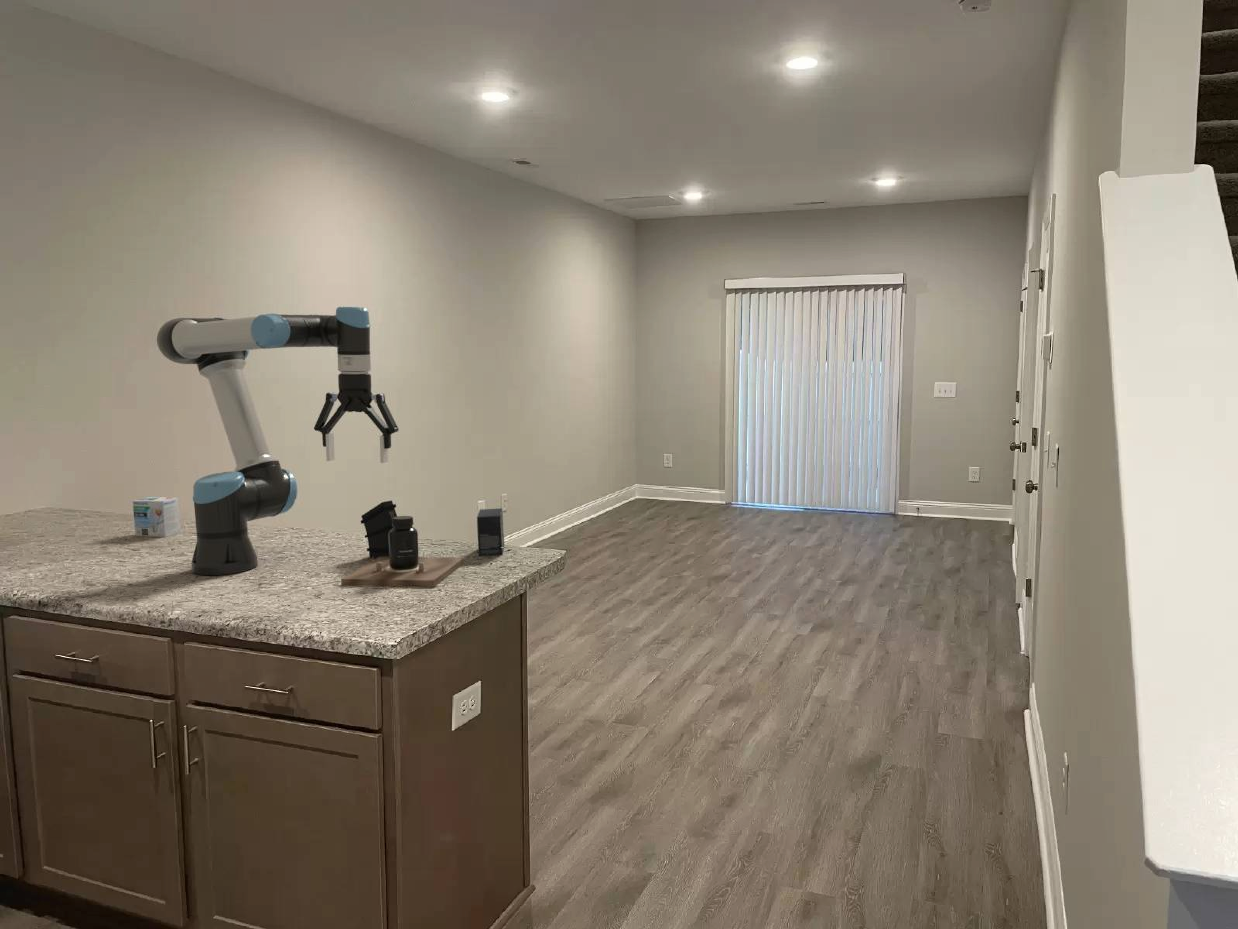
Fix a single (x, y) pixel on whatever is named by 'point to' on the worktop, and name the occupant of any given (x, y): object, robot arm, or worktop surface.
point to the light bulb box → (156, 516)
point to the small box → (490, 532)
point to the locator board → (403, 573)
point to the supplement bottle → (403, 544)
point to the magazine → (379, 528)
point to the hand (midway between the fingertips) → (357, 461)
